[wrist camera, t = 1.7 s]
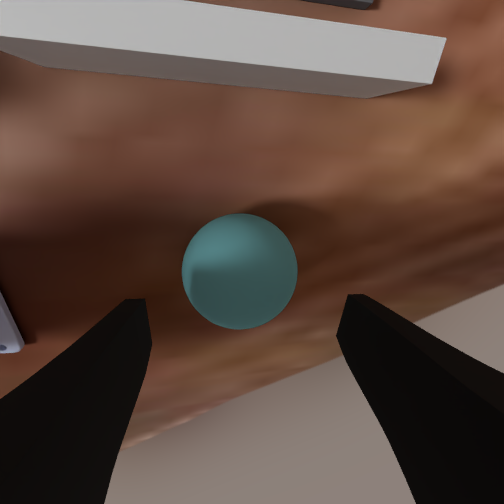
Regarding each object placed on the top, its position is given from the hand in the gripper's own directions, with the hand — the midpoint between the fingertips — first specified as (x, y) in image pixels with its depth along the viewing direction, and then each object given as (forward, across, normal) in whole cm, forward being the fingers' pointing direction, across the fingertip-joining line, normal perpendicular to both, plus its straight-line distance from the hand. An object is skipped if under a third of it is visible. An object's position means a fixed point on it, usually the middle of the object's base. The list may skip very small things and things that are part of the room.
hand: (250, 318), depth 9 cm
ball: (+3, 0, 0) cm, 4 cm away
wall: (+6, +1, -8) cm, 11 cm away
